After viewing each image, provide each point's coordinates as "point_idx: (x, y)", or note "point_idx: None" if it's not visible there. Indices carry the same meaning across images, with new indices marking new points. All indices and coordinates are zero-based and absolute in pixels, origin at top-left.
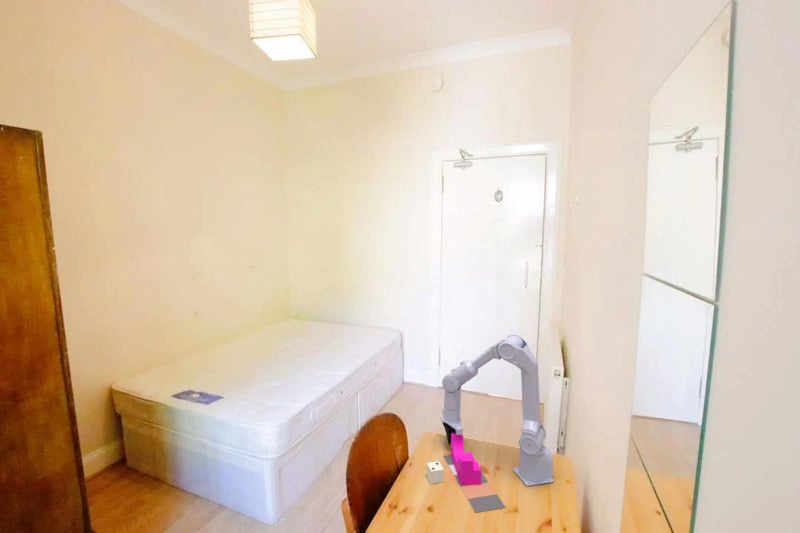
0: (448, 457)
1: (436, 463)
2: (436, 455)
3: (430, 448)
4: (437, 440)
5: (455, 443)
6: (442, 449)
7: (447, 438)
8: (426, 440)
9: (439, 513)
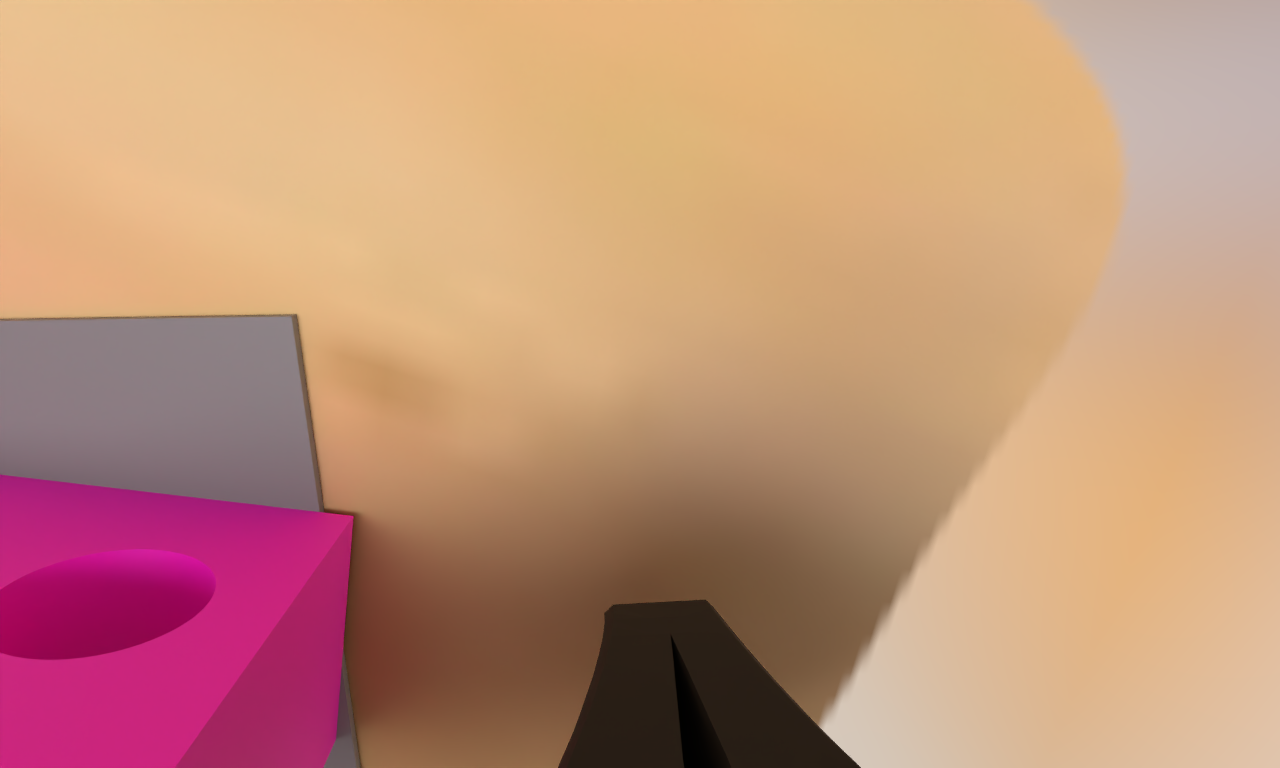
0: (211, 422)
1: None
2: (345, 131)
3: (692, 66)
4: (972, 378)
5: None
6: (587, 382)
7: (690, 672)
8: (1071, 79)
9: None
